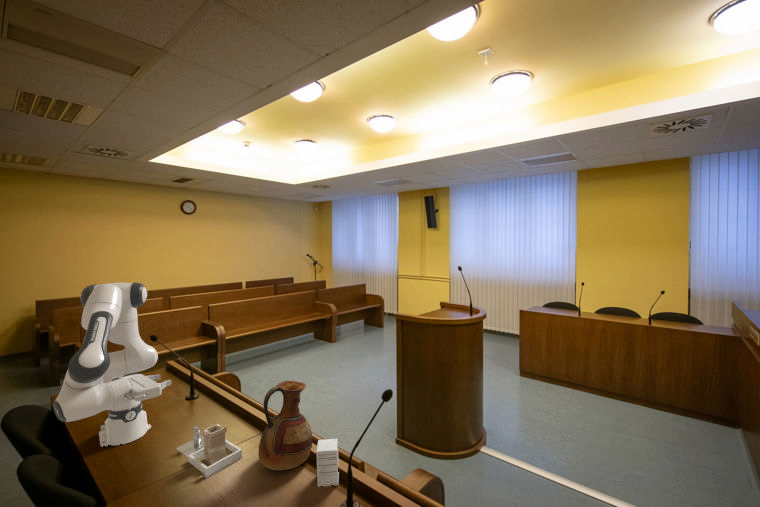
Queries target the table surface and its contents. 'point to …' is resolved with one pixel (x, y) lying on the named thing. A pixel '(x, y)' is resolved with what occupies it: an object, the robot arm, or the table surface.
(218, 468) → the rectangular frame
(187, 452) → the base plate with pin
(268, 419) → the ceramic pitcher
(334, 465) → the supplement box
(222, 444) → the sleeve
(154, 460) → the table surface
